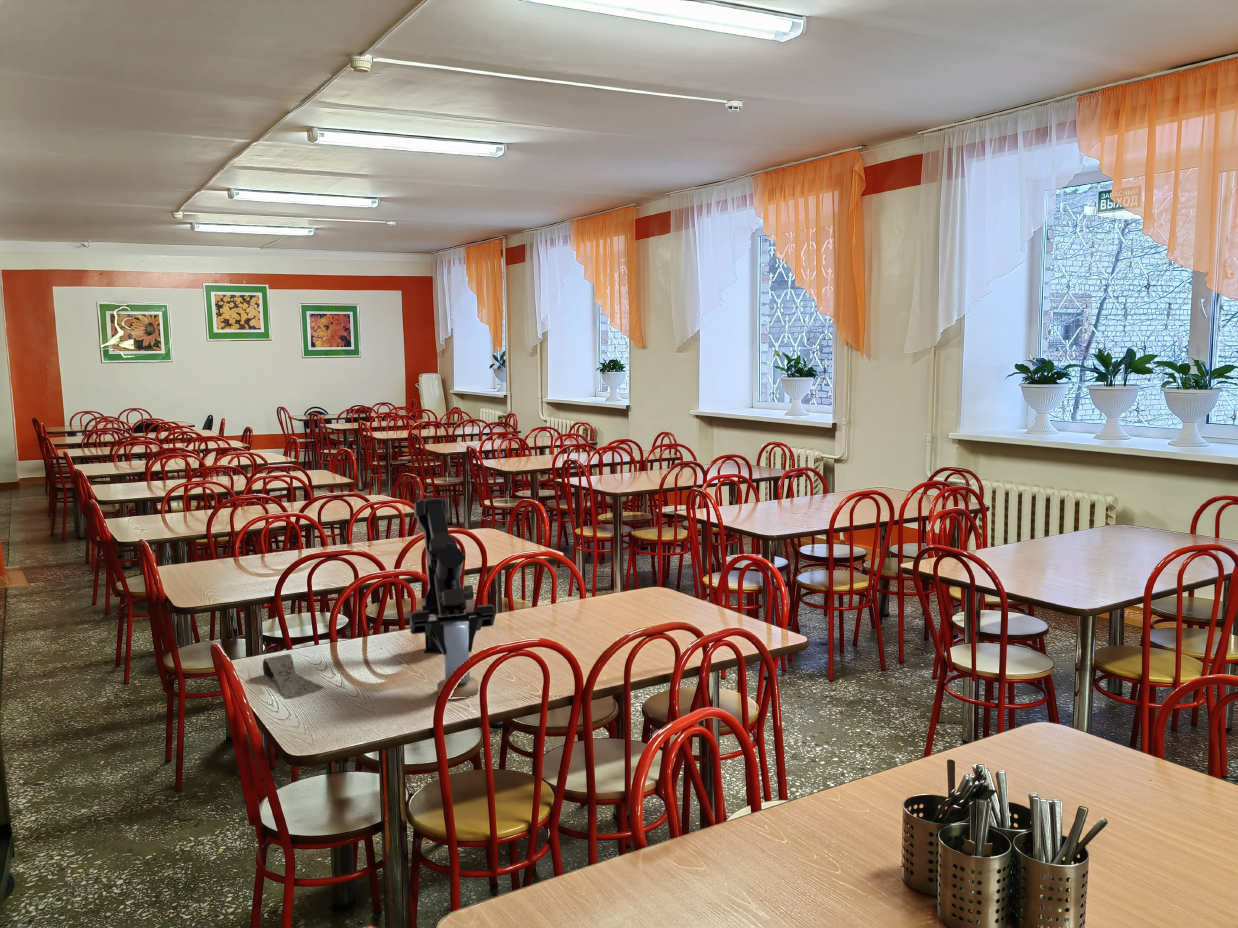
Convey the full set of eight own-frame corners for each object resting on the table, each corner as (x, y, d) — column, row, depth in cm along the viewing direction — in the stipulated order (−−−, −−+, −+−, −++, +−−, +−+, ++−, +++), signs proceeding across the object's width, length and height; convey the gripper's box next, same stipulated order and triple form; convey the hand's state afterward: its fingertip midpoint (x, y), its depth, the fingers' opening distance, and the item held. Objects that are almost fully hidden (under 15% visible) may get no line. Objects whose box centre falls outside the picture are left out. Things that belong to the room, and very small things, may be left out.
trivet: (432, 699, 205) (432, 690, 205) (443, 684, 214) (442, 676, 213) (473, 699, 204) (473, 690, 204) (482, 685, 213) (482, 676, 213)
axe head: (331, 683, 210) (287, 693, 204) (331, 704, 212) (287, 715, 205) (298, 648, 226) (255, 656, 220) (297, 667, 227) (255, 676, 221)
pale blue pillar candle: (445, 684, 205) (444, 629, 204) (444, 676, 211) (443, 622, 209) (470, 682, 207) (469, 627, 205) (468, 674, 212) (467, 620, 210)
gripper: (409, 576, 207) (416, 639, 198) (493, 569, 212) (503, 630, 203) (407, 602, 215) (413, 663, 206) (487, 595, 221) (497, 654, 212)
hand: (457, 652), depth 207 cm, fingers closed on pale blue pillar candle, 5 cm apart
